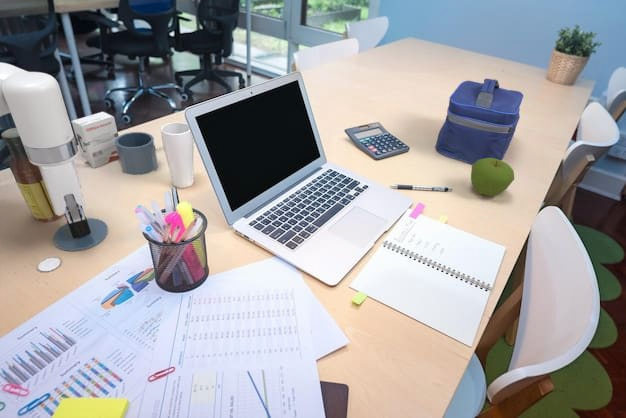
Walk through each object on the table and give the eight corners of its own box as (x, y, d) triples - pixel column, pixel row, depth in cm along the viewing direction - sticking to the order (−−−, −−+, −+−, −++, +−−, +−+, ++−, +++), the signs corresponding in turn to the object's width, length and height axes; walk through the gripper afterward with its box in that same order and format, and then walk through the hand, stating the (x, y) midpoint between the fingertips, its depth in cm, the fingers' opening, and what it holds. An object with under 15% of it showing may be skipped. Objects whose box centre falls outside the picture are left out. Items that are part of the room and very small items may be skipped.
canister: (127, 179, 97) (120, 151, 92) (117, 163, 102) (111, 135, 98) (162, 171, 101) (158, 143, 96) (152, 156, 107) (147, 129, 102)
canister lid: (59, 260, 74) (47, 230, 69) (51, 231, 80) (40, 202, 75) (114, 243, 79) (105, 214, 74) (102, 217, 85) (94, 189, 80)
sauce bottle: (62, 203, 87) (32, 120, 75) (72, 217, 84) (42, 132, 72) (28, 214, 83) (-9, 129, 71) (38, 229, 80) (0, 142, 68)
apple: (464, 198, 104) (477, 166, 98) (463, 178, 112) (474, 148, 106) (506, 207, 102) (522, 175, 96) (502, 187, 110) (516, 156, 105)
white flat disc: (50, 257, 74) (49, 254, 74) (67, 262, 73) (67, 260, 73) (32, 271, 71) (31, 268, 70) (50, 277, 70) (49, 274, 70)
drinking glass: (163, 182, 97) (154, 126, 89) (187, 173, 102) (181, 119, 93) (178, 193, 94) (170, 137, 85) (202, 184, 98) (197, 129, 89)
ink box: (113, 150, 107) (103, 110, 100) (124, 157, 105) (114, 116, 98) (82, 162, 101) (69, 119, 94) (93, 169, 99) (80, 126, 92)
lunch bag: (449, 121, 146) (467, 65, 134) (508, 136, 139) (532, 79, 127) (430, 153, 123) (449, 90, 111) (499, 174, 116) (527, 109, 104)
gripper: (21, 132, 70) (52, 213, 81) (32, 176, 60) (66, 261, 71) (68, 125, 74) (91, 203, 85) (86, 165, 64) (110, 247, 75)
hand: (79, 229), depth 78 cm, fingers closed on canister lid, 3 cm apart
